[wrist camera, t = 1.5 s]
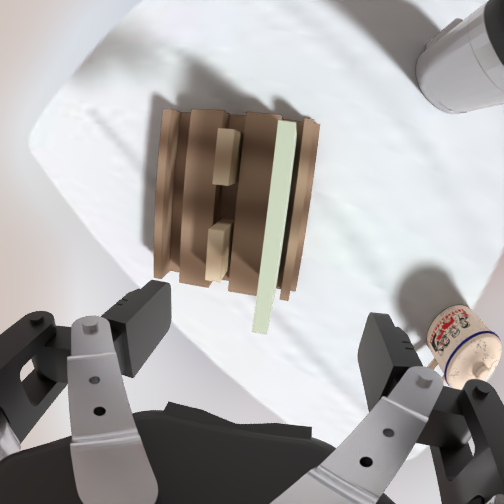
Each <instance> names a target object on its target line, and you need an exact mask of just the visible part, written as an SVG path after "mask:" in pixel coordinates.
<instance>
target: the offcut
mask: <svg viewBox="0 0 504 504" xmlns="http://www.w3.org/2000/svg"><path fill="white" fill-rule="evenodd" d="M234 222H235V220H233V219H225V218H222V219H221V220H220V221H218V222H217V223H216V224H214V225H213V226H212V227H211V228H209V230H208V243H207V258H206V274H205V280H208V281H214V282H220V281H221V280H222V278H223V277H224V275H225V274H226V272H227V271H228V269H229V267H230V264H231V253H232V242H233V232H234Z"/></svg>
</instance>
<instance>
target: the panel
mask: <svg viewBox="0 0 504 504" xmlns="http://www.w3.org/2000/svg"><path fill="white" fill-rule="evenodd" d="M296 140H297V133H296V122H289V121H281V120H278V127H277V135H276V144H275V152H274V161H273V169H272V177H271V186H270V194H269V202H268V210H267V219H266V227H265V235H264V243H263V251H262V259H261V266H260V274H259V282H258V290H257V298H256V305H255V313H254V321H253V328H252V332H255V333H262V334H267V331H268V326H269V321H270V316H271V311H272V306H273V301H274V295H275V290H276V285H277V279H278V274H279V267H280V261H281V254H282V247H283V240H284V233H285V226H286V218H287V211H288V204H289V196H290V188H291V181H292V173H293V165H294V157H295V148H296Z"/></svg>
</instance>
